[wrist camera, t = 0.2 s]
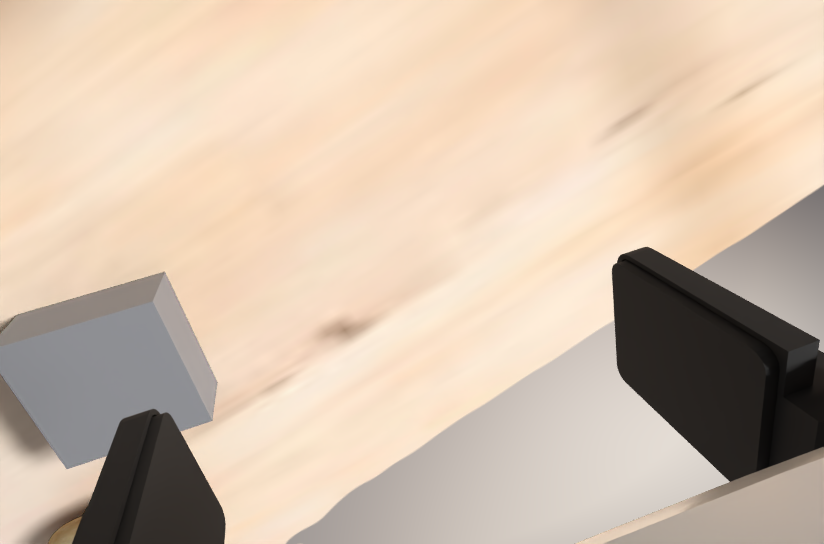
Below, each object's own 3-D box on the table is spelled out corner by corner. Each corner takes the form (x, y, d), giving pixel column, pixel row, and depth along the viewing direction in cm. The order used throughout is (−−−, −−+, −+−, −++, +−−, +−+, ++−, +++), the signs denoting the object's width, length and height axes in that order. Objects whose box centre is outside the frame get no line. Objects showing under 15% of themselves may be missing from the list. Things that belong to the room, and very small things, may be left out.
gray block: (18, 313, 44) (-16, 351, 39) (165, 270, 46) (152, 301, 40) (87, 422, 49) (66, 469, 44) (217, 380, 51) (212, 420, 46)
